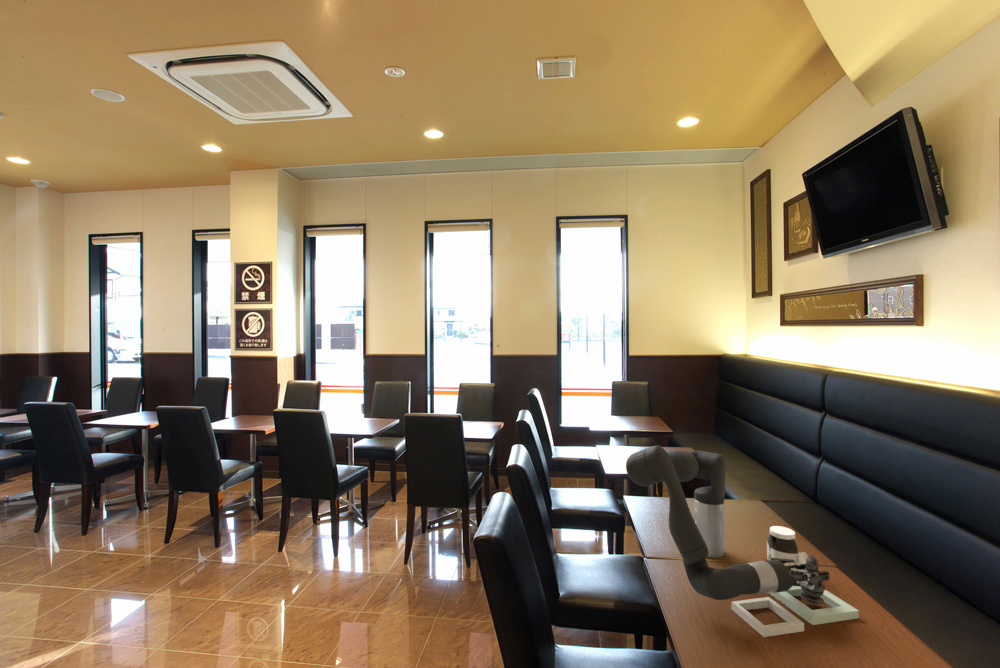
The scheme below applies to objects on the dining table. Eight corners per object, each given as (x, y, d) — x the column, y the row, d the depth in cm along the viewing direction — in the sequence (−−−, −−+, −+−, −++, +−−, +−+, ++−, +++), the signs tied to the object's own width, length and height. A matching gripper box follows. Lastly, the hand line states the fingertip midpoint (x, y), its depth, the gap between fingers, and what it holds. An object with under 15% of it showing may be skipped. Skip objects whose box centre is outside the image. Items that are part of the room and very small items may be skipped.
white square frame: (763, 637, 111) (763, 629, 111) (731, 609, 122) (731, 601, 122) (804, 631, 113) (804, 623, 113) (768, 604, 124) (768, 596, 124)
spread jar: (763, 558, 150) (764, 522, 150) (803, 562, 147) (803, 526, 146) (775, 577, 138) (775, 538, 138) (818, 582, 135) (818, 543, 135)
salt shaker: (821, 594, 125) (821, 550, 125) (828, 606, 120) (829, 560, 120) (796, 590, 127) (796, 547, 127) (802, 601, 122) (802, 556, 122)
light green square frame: (812, 625, 116) (812, 617, 116) (769, 593, 129) (769, 586, 129) (858, 618, 118) (858, 610, 118) (812, 588, 132) (812, 581, 132)
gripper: (787, 576, 114) (845, 570, 117) (746, 550, 128) (799, 545, 131) (787, 606, 114) (845, 600, 117) (746, 576, 128) (799, 571, 131)
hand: (820, 571), depth 124 cm, fingers closed on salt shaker, 3 cm apart
